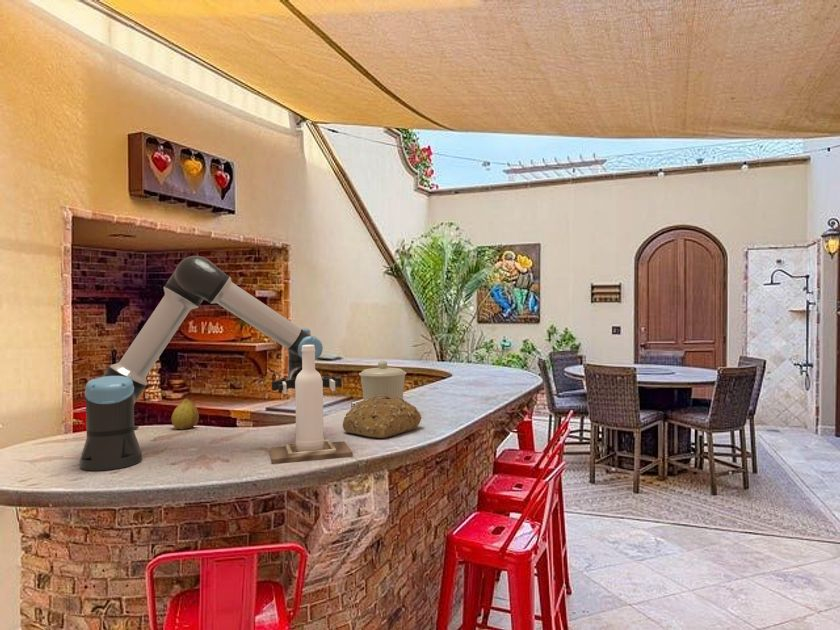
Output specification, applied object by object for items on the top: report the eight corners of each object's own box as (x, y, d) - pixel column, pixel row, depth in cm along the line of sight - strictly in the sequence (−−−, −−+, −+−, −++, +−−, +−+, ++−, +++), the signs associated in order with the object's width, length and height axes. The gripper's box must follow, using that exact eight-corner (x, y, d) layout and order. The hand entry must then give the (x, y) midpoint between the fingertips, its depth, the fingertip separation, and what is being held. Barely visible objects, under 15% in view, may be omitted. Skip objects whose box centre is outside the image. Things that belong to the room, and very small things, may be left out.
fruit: (166, 430, 204) (165, 396, 204) (182, 425, 213) (182, 392, 213) (188, 431, 202) (187, 396, 202) (204, 425, 211) (203, 392, 211)
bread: (378, 422, 213) (378, 389, 213) (427, 428, 201) (426, 393, 201) (332, 434, 193) (332, 398, 193) (383, 442, 181) (383, 403, 181)
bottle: (290, 450, 167) (288, 345, 166) (310, 445, 173) (309, 343, 173) (309, 454, 162) (307, 346, 162) (329, 448, 168) (328, 344, 168)
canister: (362, 411, 233) (361, 358, 233) (407, 411, 233) (406, 358, 233) (357, 420, 215) (356, 363, 215) (406, 420, 215) (405, 362, 215)
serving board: (271, 463, 158) (271, 455, 158) (269, 451, 171) (269, 444, 171) (352, 456, 164) (352, 448, 164) (344, 445, 177) (344, 438, 177)
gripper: (342, 388, 189) (353, 398, 169) (262, 393, 182) (264, 403, 162) (341, 365, 189) (353, 372, 169) (261, 369, 182) (263, 376, 162)
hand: (309, 387), depth 165 cm, fingers open, 13 cm apart
